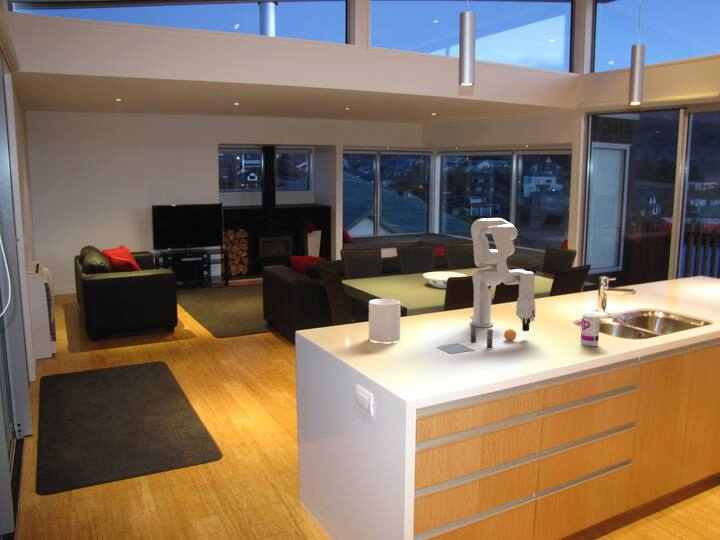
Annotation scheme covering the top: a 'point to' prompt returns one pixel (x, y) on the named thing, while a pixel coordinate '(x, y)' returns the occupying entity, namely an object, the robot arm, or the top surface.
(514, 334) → the ball
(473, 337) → the post
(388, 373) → the top surface
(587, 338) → the supplement can
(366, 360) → the top surface
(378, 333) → the canister
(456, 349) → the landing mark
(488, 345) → the post
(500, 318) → the top surface
